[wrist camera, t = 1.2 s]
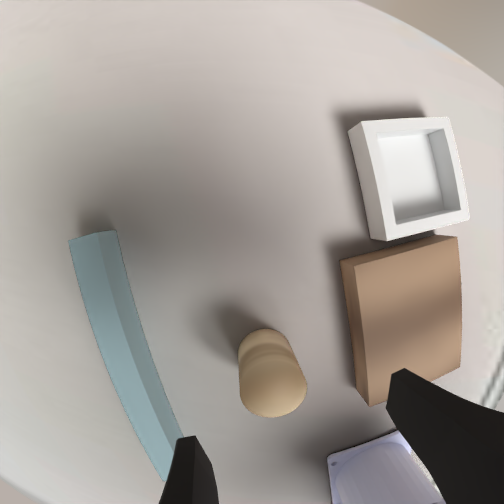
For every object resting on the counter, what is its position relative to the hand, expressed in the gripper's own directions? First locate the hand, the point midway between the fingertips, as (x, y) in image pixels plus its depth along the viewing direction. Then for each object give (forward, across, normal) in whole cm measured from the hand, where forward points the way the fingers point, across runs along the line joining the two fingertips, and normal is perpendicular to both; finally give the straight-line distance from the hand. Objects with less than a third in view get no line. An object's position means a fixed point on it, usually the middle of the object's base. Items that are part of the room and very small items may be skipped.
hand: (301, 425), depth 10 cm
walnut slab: (+9, -10, +4) cm, 14 cm away
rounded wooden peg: (+10, 0, +4) cm, 10 cm away
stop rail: (+11, +8, +3) cm, 14 cm away
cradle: (+11, -12, -5) cm, 17 cm away
